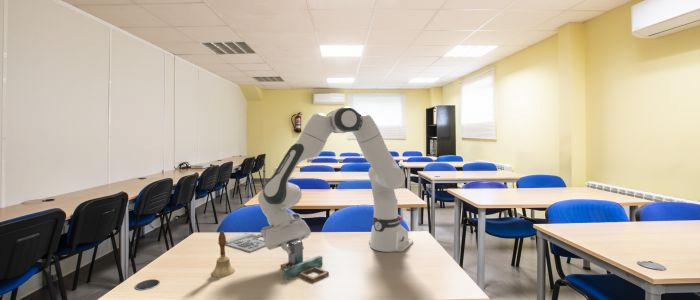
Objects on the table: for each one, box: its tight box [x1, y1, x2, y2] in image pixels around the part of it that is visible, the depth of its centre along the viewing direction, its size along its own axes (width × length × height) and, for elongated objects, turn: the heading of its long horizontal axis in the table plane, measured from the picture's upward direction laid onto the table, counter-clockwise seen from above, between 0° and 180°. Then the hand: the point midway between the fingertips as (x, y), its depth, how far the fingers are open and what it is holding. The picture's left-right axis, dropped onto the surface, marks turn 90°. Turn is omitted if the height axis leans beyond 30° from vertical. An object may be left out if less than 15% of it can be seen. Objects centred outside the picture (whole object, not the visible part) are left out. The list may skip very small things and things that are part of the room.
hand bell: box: [211, 230, 236, 278], centre depth 123 cm, size 8×8×16 cm
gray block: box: [287, 239, 304, 266], centre depth 128 cm, size 4×4×8 cm
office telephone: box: [225, 231, 267, 253], centre depth 159 cm, size 23×3×20 cm
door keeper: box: [280, 255, 330, 283], centre depth 124 cm, size 18×19×4 cm
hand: (296, 251), depth 127 cm, fingers closed on gray block, 4 cm apart
